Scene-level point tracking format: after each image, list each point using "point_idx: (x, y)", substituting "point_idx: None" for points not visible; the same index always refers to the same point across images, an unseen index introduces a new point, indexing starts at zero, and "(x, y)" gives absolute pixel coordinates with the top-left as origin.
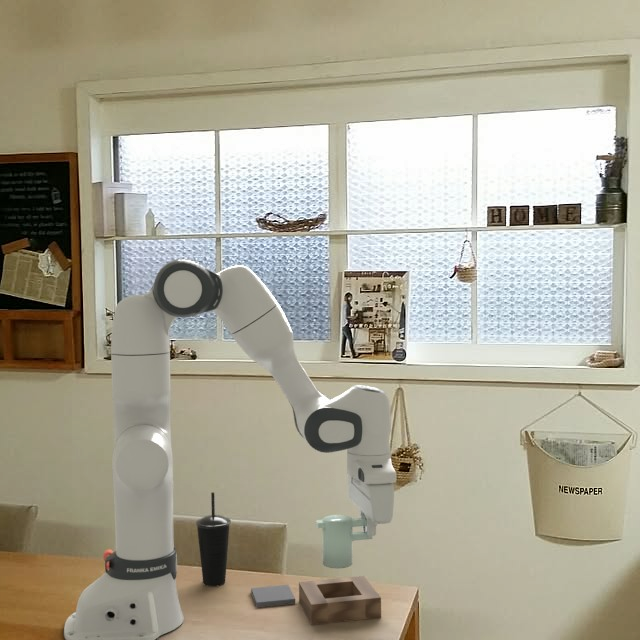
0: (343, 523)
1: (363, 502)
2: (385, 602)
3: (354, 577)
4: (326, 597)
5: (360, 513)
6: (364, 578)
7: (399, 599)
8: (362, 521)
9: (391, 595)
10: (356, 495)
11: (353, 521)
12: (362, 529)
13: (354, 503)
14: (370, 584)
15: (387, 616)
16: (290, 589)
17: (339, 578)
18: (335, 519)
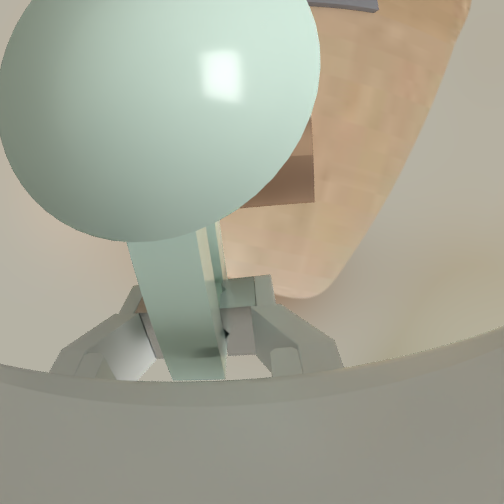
0: (2, 141)
1: (8, 459)
2: (243, 229)
3: (309, 170)
4: None
5: (297, 342)
6: (294, 199)
7: (256, 263)
8: (154, 314)
9: (284, 251)
10: (362, 495)
11: (127, 242)
12: (247, 277)
13: (423, 355)
14: (240, 207)
15: None
16: (344, 4)
17: (310, 121)
18: (119, 47)
